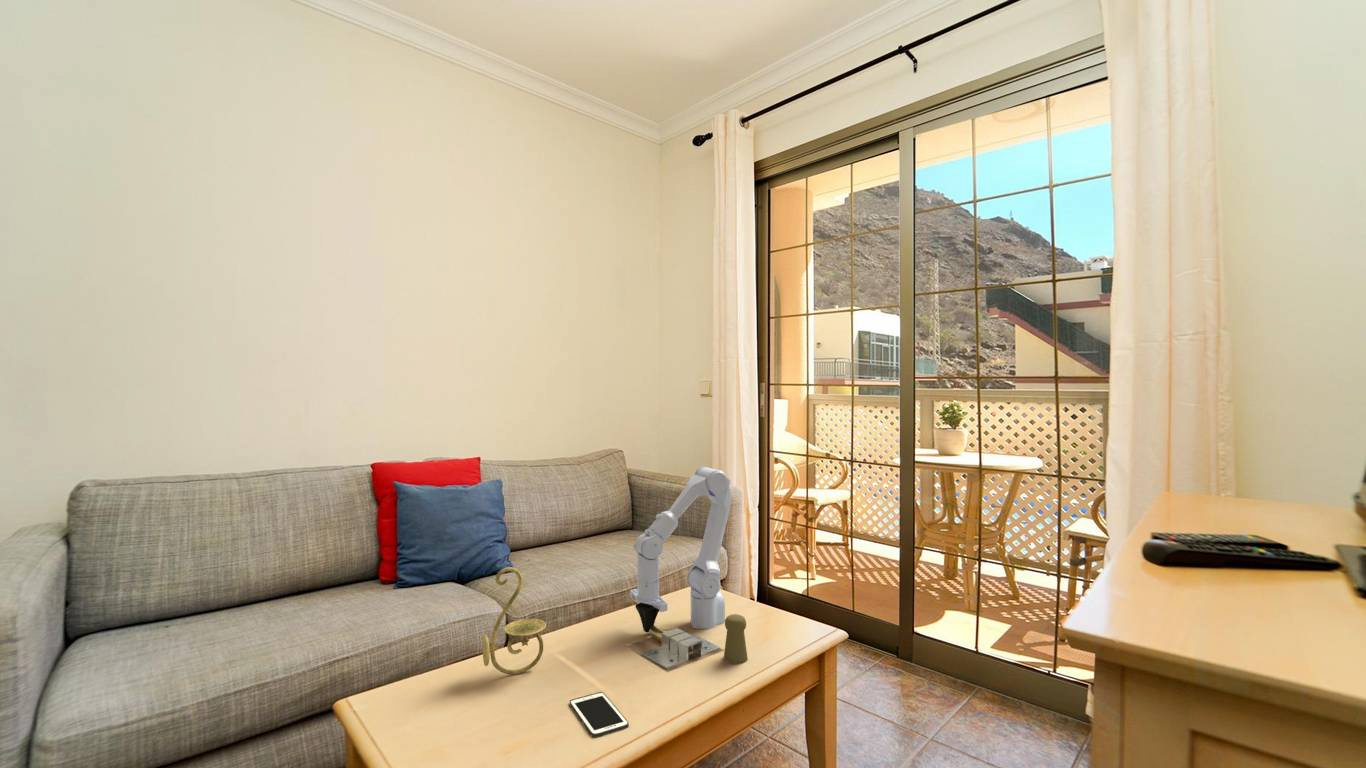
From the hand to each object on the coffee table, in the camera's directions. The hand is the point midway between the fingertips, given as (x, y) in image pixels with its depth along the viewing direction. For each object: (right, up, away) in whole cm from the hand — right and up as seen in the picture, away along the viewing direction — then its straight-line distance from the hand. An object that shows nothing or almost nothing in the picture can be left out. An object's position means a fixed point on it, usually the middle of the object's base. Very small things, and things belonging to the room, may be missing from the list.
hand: (648, 630), depth 157 cm
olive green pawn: (+22, -2, -14) cm, 27 cm away
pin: (+4, -1, -6) cm, 7 cm away
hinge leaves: (+9, -1, -11) cm, 14 cm away
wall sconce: (-30, -2, -21) cm, 36 cm away
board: (+7, -1, -9) cm, 11 cm away
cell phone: (-8, -2, -38) cm, 39 cm away
